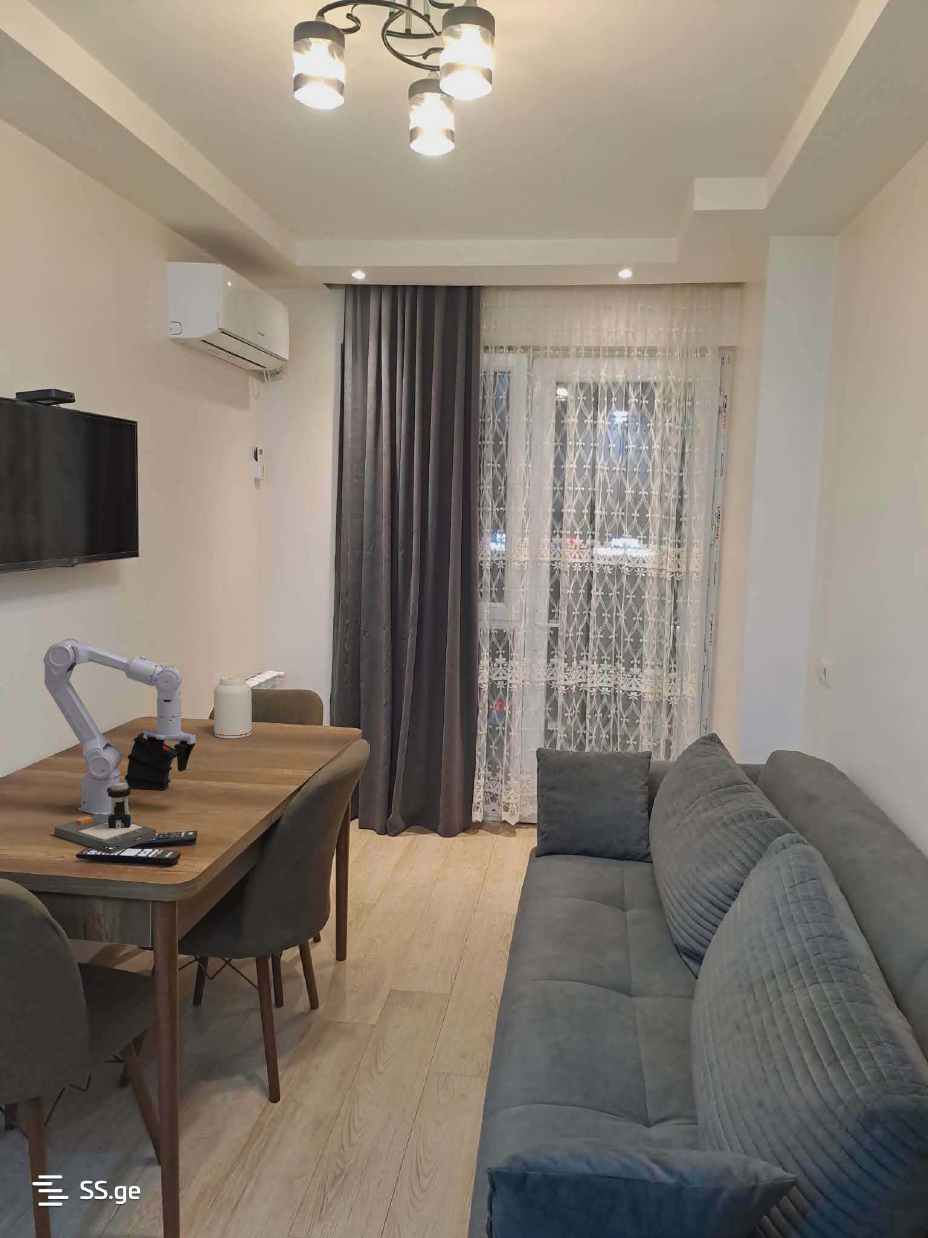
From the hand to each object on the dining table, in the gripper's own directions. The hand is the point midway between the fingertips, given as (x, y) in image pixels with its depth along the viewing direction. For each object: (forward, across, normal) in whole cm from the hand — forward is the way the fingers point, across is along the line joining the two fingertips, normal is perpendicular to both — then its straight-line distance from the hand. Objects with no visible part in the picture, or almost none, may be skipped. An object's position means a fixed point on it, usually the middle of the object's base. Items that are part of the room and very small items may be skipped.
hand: (169, 768), depth 223 cm
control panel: (+10, 0, -22) cm, 25 cm away
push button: (+8, +2, -21) cm, 23 cm away
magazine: (+11, -16, +12) cm, 23 cm away
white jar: (+11, -34, +73) cm, 81 cm away
